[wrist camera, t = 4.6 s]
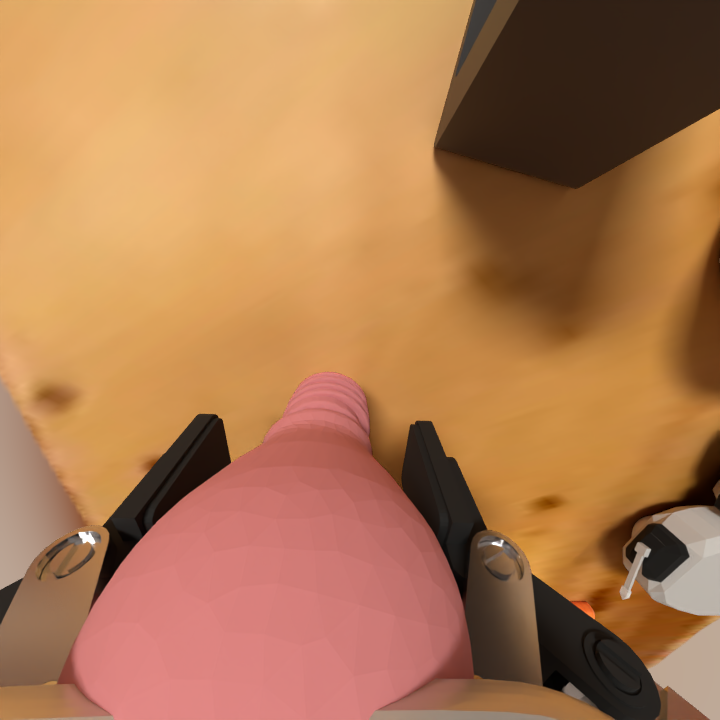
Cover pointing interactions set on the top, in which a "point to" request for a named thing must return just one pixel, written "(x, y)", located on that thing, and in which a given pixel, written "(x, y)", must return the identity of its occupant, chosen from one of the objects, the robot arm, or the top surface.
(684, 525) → the robot toy
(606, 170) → the phone stand
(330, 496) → the light bulb
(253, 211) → the top surface
